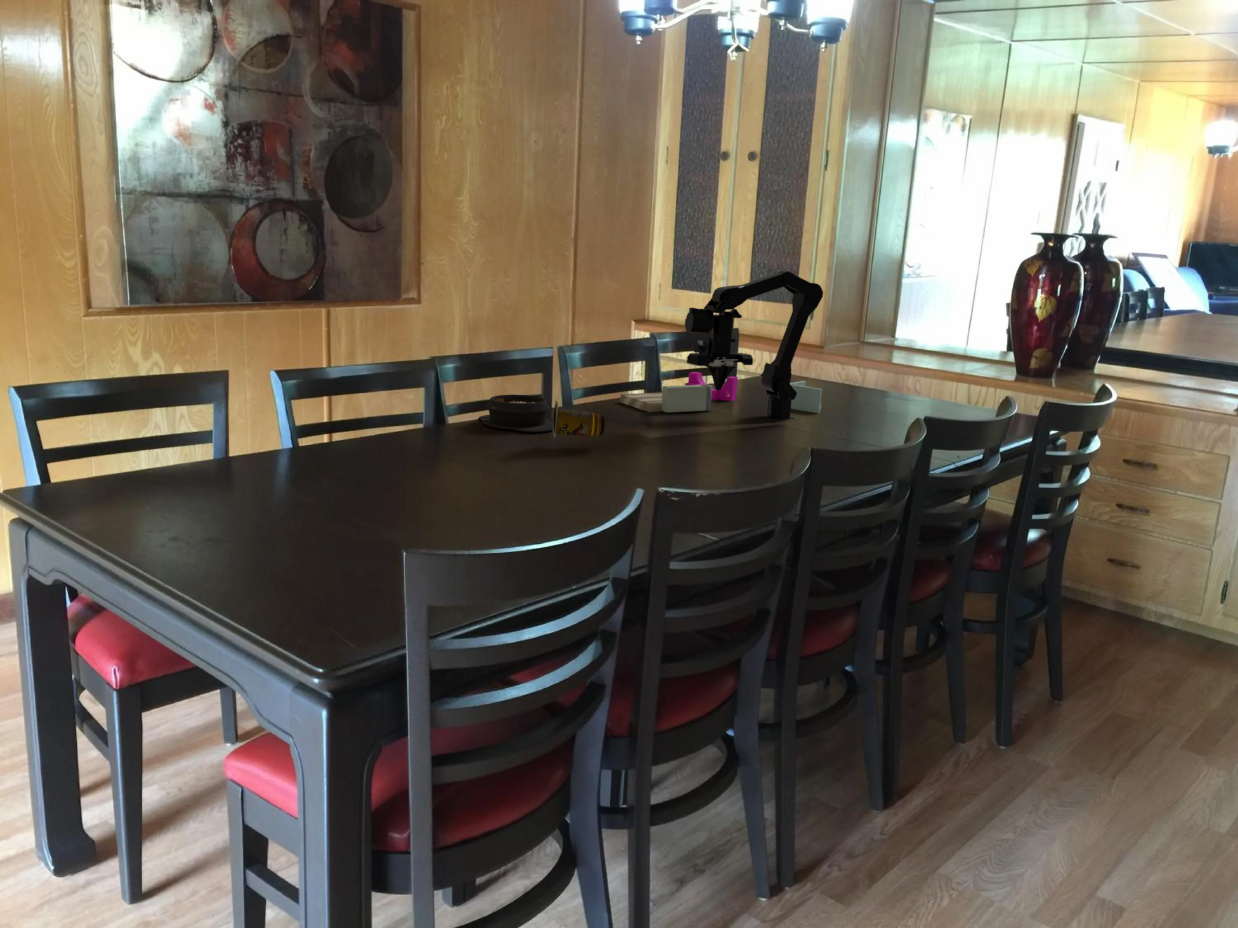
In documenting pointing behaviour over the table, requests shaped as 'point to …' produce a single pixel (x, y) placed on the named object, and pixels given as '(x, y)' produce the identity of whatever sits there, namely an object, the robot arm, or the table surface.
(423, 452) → the table surface
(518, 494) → the table surface
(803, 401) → the right angle wall
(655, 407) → the stool seat
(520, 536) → the table surface
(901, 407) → the table surface
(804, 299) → the robot arm
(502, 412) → the casserole
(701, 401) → the pale grey rectangular block
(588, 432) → the yellow can
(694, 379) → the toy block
